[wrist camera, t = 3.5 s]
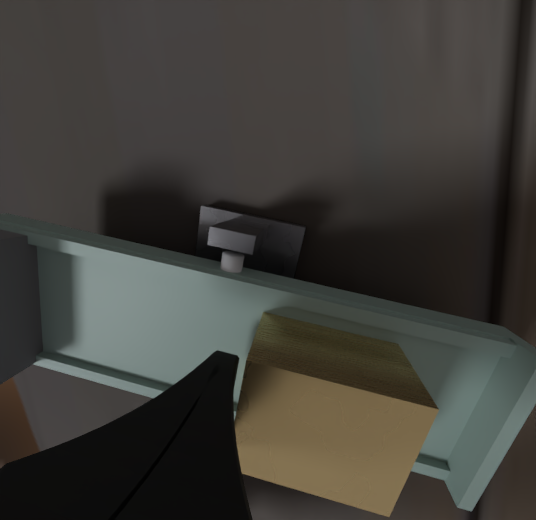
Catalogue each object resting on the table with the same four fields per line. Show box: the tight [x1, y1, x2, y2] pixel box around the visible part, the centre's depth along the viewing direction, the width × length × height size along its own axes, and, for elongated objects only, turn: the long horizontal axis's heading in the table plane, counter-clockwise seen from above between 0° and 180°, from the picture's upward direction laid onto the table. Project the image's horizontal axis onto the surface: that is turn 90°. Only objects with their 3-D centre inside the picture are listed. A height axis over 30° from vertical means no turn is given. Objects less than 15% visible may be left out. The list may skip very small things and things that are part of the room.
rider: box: [234, 312, 439, 517], centre depth 10 cm, size 5×6×4 cm
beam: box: [0, 214, 536, 512], centre depth 12 cm, size 9×25×4 cm, turn 79°
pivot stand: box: [195, 205, 306, 279], centre depth 14 cm, size 12×6×5 cm, turn 169°
